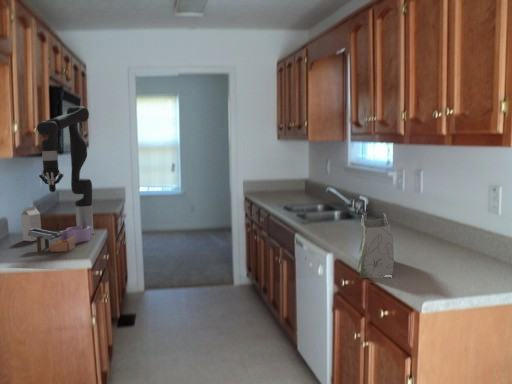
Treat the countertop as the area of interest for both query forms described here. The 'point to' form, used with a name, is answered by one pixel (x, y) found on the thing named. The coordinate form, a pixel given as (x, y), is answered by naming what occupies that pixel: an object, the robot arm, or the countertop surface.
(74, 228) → the clip
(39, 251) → the stand
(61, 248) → the cup
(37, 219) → the milk carton
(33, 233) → the tipping track
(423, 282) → the countertop surface
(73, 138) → the robot arm
